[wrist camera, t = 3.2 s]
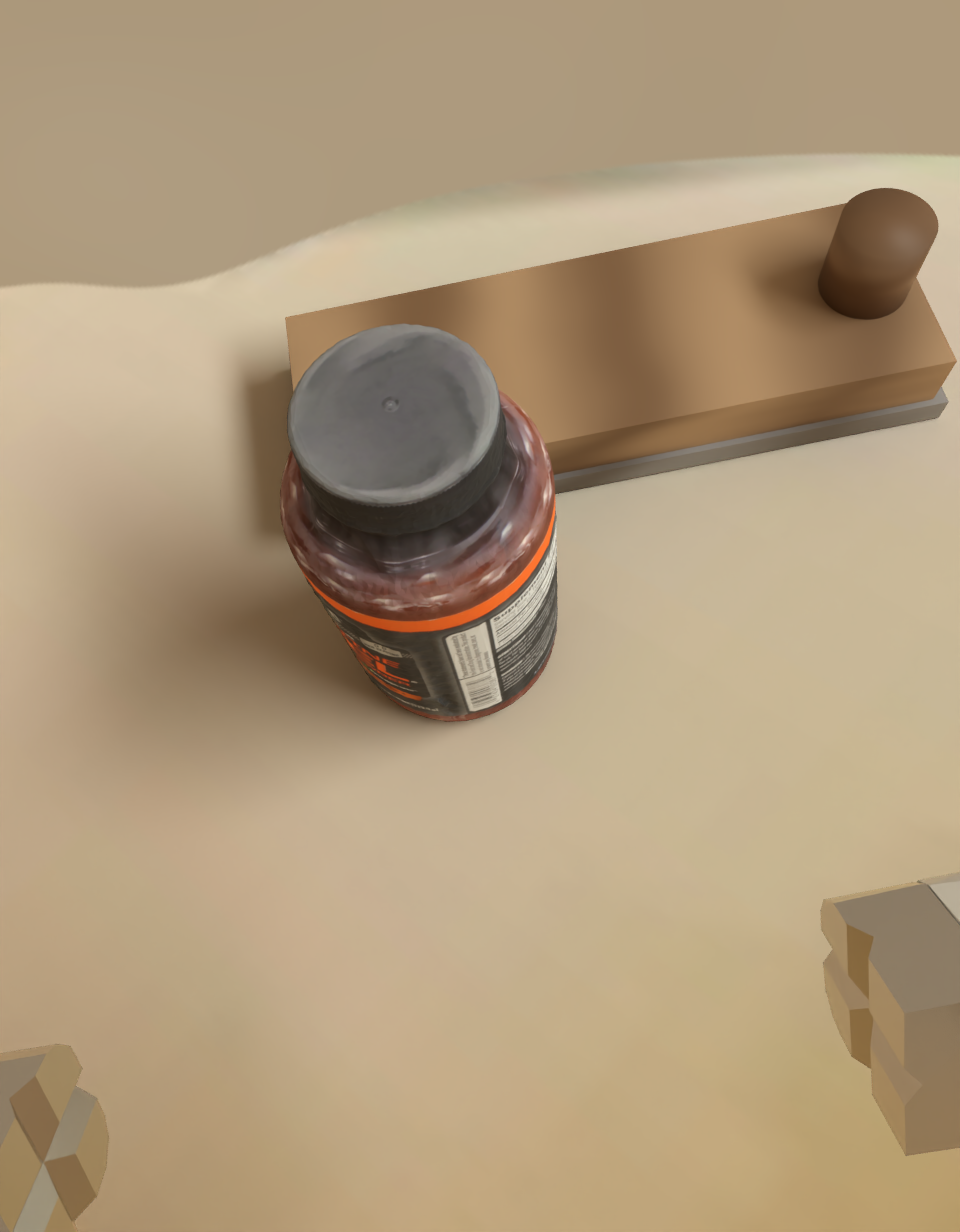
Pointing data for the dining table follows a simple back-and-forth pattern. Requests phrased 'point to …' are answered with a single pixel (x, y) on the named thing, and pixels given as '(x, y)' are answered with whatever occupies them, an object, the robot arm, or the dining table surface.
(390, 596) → the supplement bottle
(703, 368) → the body
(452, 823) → the dining table surface
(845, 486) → the dining table surface
